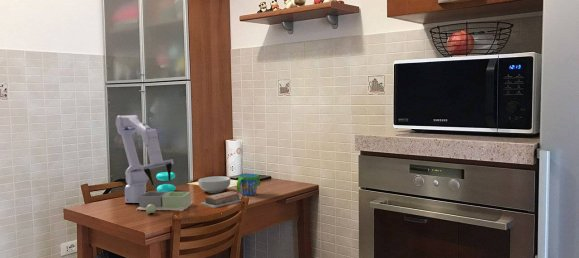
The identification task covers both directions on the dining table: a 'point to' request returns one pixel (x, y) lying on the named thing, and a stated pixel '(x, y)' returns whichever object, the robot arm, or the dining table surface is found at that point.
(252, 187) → the snack cup
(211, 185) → the cereal bowl
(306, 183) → the dining table surface
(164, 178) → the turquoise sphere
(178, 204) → the two-tone hollow container
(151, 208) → the ball
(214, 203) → the packaged product
